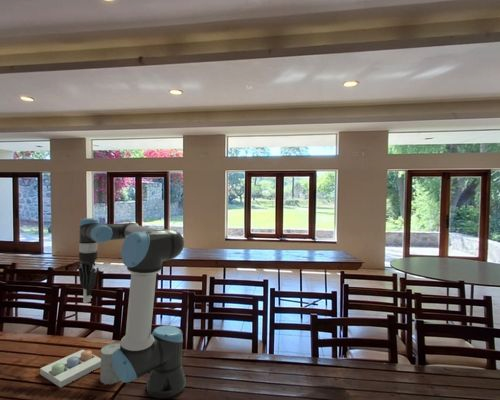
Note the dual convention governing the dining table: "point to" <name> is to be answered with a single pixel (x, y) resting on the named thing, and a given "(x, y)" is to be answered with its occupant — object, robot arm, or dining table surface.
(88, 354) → the terracotta button
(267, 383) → the dining table surface
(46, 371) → the panel
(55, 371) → the sage button
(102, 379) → the light grey cylinder
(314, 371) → the dining table surface
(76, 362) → the slate button
